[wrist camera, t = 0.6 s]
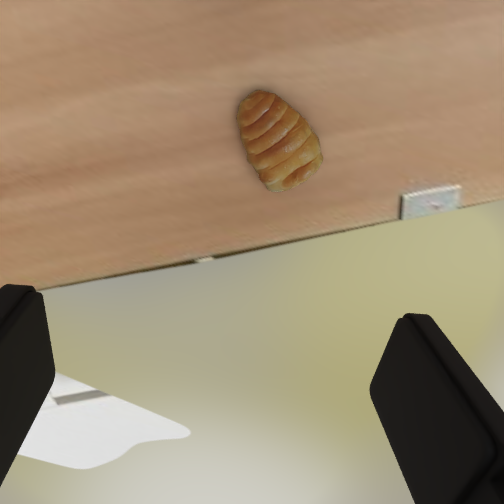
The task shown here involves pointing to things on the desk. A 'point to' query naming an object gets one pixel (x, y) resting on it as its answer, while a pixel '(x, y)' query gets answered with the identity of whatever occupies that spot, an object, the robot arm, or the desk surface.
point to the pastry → (277, 141)
